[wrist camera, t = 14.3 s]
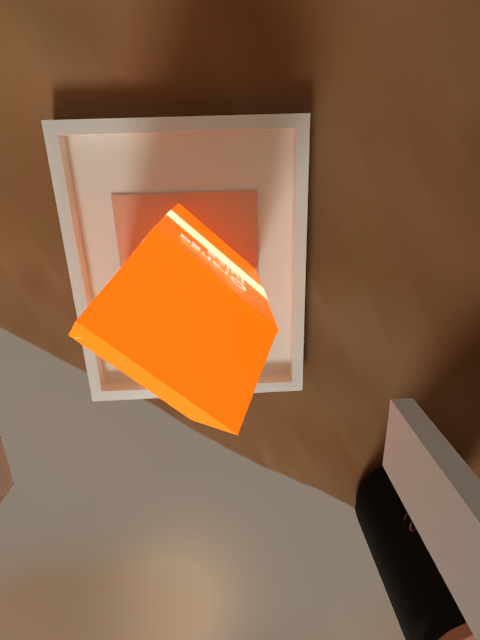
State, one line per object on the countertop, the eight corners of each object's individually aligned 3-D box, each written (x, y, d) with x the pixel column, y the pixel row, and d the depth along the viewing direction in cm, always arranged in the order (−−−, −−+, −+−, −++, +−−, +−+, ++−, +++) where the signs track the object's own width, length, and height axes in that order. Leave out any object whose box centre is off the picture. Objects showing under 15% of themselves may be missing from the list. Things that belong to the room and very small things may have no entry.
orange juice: (179, 201, 34) (132, 245, 15) (257, 268, 36) (301, 379, 17) (123, 271, 36) (19, 387, 17) (201, 331, 38) (186, 491, 19)
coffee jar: (460, 475, 47) (594, 647, 30) (407, 538, 50) (503, 725, 33) (384, 444, 45) (484, 610, 28) (334, 512, 48) (397, 698, 31)
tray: (52, 123, 32) (40, 120, 30) (304, 116, 33) (310, 113, 31) (99, 389, 41) (92, 401, 39) (297, 378, 41) (302, 390, 39)
